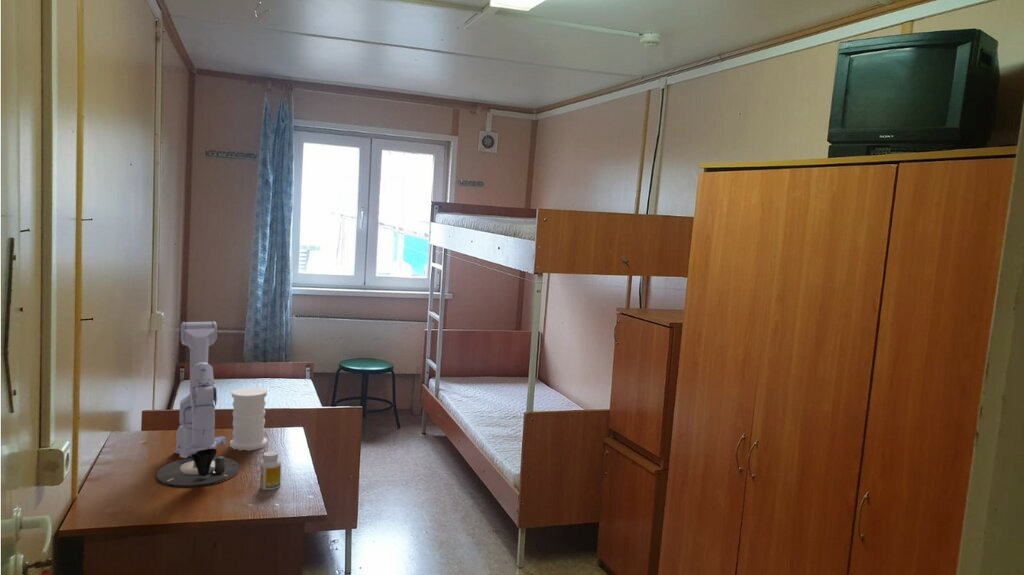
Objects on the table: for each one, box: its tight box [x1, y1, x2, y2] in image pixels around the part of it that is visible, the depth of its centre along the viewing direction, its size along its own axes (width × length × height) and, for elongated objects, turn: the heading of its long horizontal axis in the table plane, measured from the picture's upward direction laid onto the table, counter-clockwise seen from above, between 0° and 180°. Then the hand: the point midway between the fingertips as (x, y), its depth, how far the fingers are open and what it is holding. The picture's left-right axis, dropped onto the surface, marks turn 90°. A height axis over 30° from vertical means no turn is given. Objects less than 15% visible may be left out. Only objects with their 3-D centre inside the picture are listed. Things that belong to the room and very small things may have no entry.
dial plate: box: [156, 456, 240, 488], centre depth 206 cm, size 22×22×1 cm
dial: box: [180, 455, 226, 475], centre depth 205 cm, size 14×10×5 cm
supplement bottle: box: [259, 450, 282, 491], centre depth 198 cm, size 5×5×10 cm
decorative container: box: [229, 387, 268, 451], centre depth 231 cm, size 12×12×18 cm
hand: (203, 475), depth 198 cm, fingers closed
